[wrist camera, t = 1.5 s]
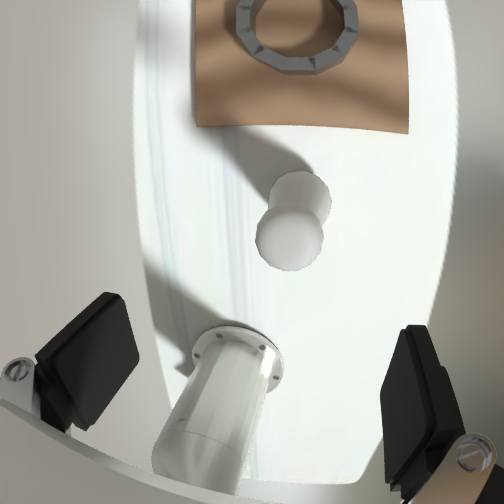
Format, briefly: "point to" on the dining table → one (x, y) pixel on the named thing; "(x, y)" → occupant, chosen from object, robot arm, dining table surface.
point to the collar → (313, 65)
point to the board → (302, 86)
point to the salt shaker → (294, 221)
